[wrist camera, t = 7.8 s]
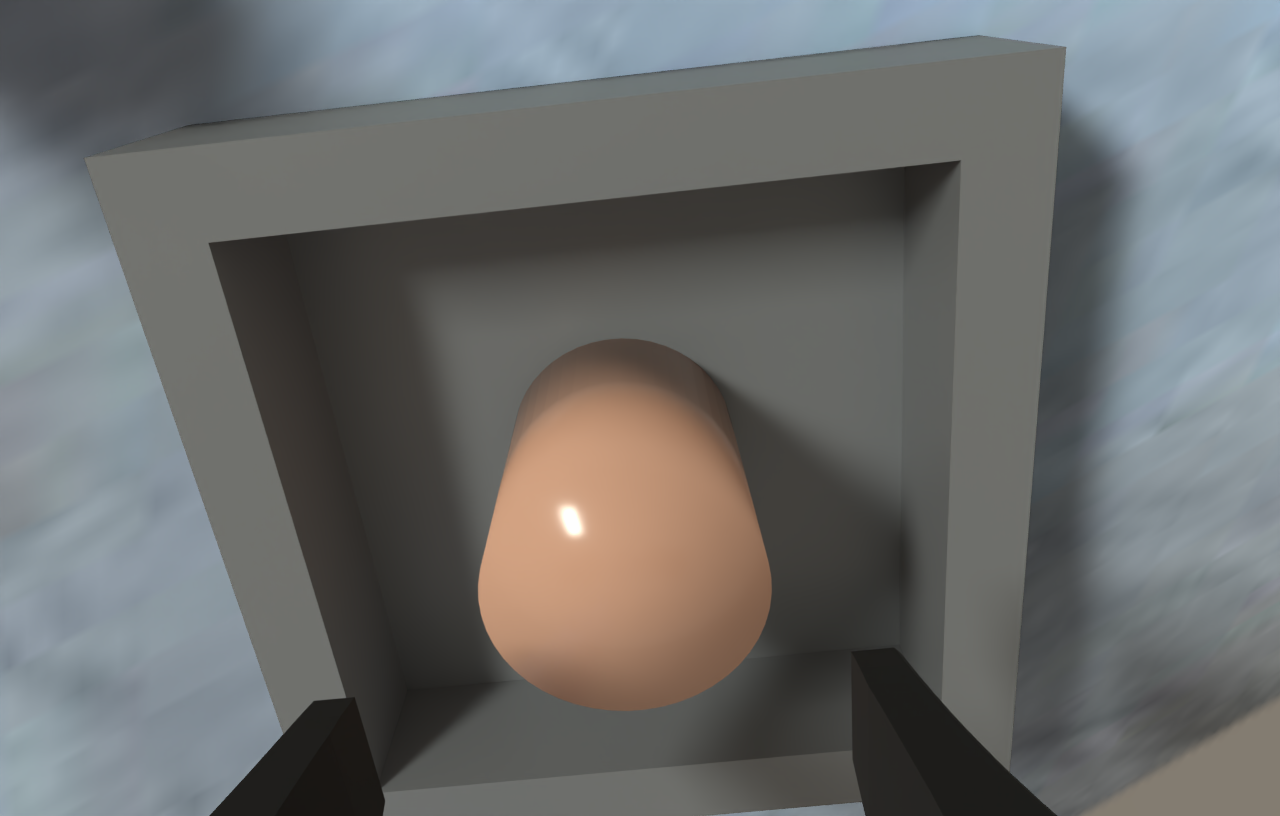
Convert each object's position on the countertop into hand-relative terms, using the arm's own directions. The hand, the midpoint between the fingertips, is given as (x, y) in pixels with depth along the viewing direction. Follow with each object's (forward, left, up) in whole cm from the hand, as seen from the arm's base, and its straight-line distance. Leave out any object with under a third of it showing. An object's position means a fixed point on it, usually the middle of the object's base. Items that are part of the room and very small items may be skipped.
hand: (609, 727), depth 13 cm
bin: (0, 0, -9) cm, 9 cm away
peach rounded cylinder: (0, 0, -9) cm, 9 cm away
